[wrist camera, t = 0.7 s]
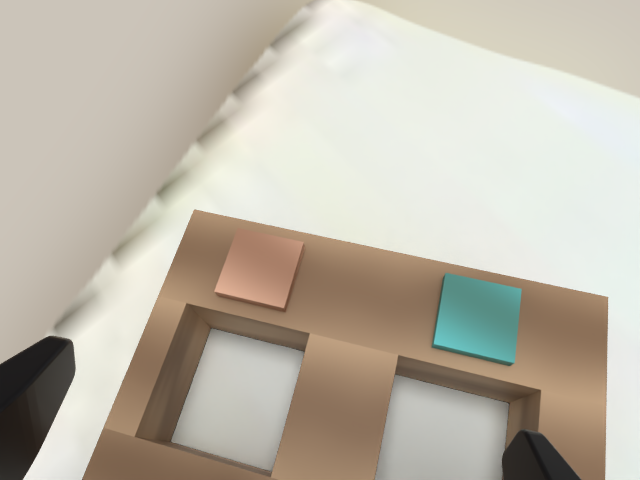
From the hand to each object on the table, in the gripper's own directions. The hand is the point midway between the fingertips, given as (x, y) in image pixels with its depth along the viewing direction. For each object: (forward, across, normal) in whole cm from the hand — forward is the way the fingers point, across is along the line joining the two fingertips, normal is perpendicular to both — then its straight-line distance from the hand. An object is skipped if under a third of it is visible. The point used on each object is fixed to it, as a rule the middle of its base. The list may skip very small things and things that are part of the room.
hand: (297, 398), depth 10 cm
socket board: (+8, -4, +10) cm, 13 cm away
